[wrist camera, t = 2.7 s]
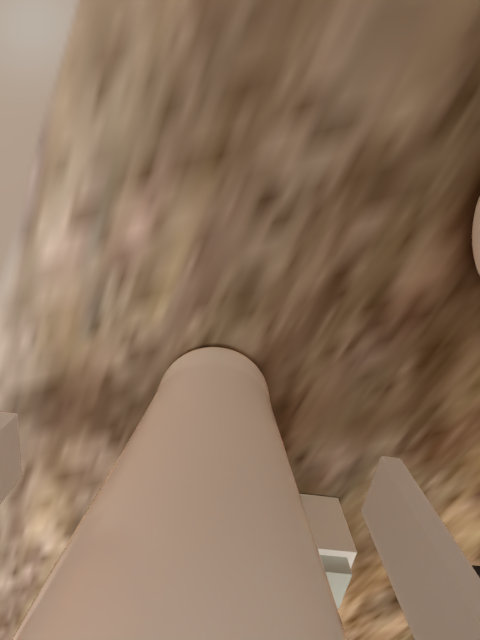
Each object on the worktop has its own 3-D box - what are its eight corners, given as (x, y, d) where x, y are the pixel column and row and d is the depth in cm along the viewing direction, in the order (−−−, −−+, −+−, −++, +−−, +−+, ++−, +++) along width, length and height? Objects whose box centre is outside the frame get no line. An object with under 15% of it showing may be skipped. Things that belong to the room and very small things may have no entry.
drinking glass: (205, 465, 18) (109, 1333, 4) (118, 380, 17) (-553, 1408, 2) (307, 400, 17) (651, 1337, 3) (225, 300, 15) (109, 1503, 1)
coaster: (337, 497, 19) (362, 569, 16) (294, 628, 23) (305, 710, 19) (129, 474, 19) (101, 543, 15) (120, 613, 22) (97, 696, 19)
